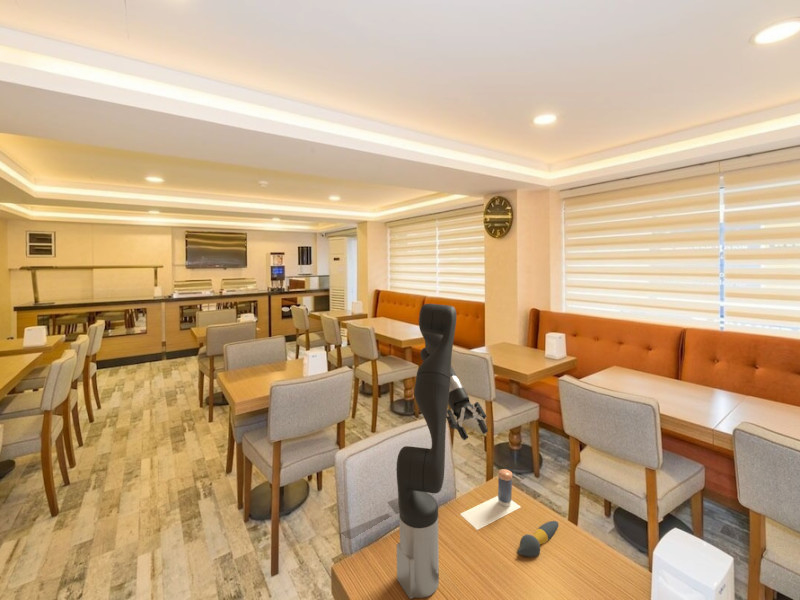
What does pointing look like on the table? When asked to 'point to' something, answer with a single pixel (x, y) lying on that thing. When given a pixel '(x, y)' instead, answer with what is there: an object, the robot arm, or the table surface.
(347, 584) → the table surface
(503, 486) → the peach capped blue cylinder
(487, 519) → the whiteboard
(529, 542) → the paintbrush
